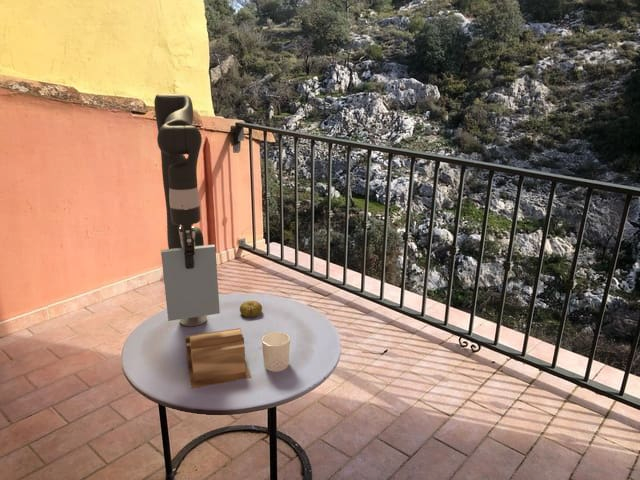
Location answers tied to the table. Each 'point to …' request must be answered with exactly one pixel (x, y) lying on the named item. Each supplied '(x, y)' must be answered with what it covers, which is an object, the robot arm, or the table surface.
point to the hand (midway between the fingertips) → (189, 266)
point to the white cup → (276, 351)
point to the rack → (215, 379)
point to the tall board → (190, 283)
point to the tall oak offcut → (215, 339)
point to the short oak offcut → (218, 360)
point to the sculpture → (249, 304)
